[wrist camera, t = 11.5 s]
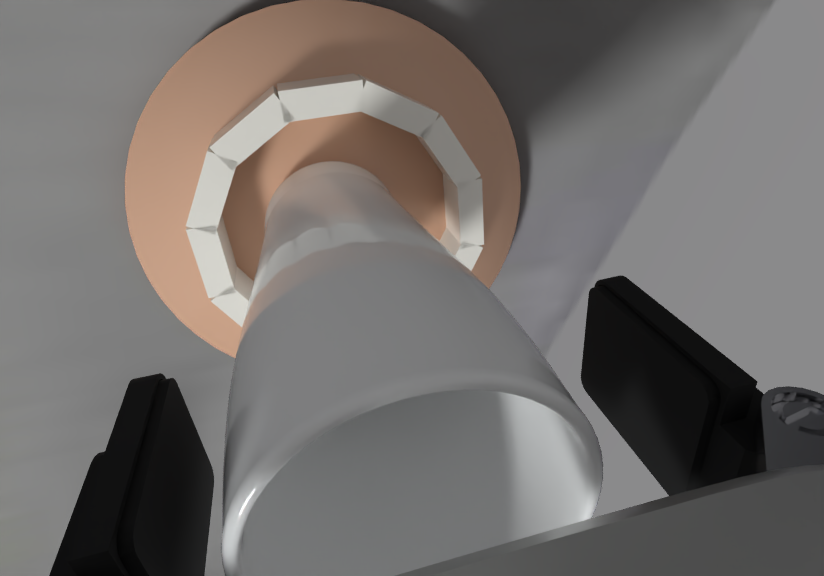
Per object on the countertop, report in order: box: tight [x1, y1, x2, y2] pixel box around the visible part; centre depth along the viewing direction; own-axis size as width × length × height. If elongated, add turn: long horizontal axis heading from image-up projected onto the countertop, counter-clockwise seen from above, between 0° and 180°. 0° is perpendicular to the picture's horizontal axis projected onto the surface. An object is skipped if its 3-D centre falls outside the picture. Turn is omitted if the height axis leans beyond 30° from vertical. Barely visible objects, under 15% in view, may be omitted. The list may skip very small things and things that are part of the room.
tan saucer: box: [125, 0, 521, 358], centre depth 21 cm, size 16×16×3 cm
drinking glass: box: [221, 161, 603, 576], centre depth 15 cm, size 7×7×15 cm
